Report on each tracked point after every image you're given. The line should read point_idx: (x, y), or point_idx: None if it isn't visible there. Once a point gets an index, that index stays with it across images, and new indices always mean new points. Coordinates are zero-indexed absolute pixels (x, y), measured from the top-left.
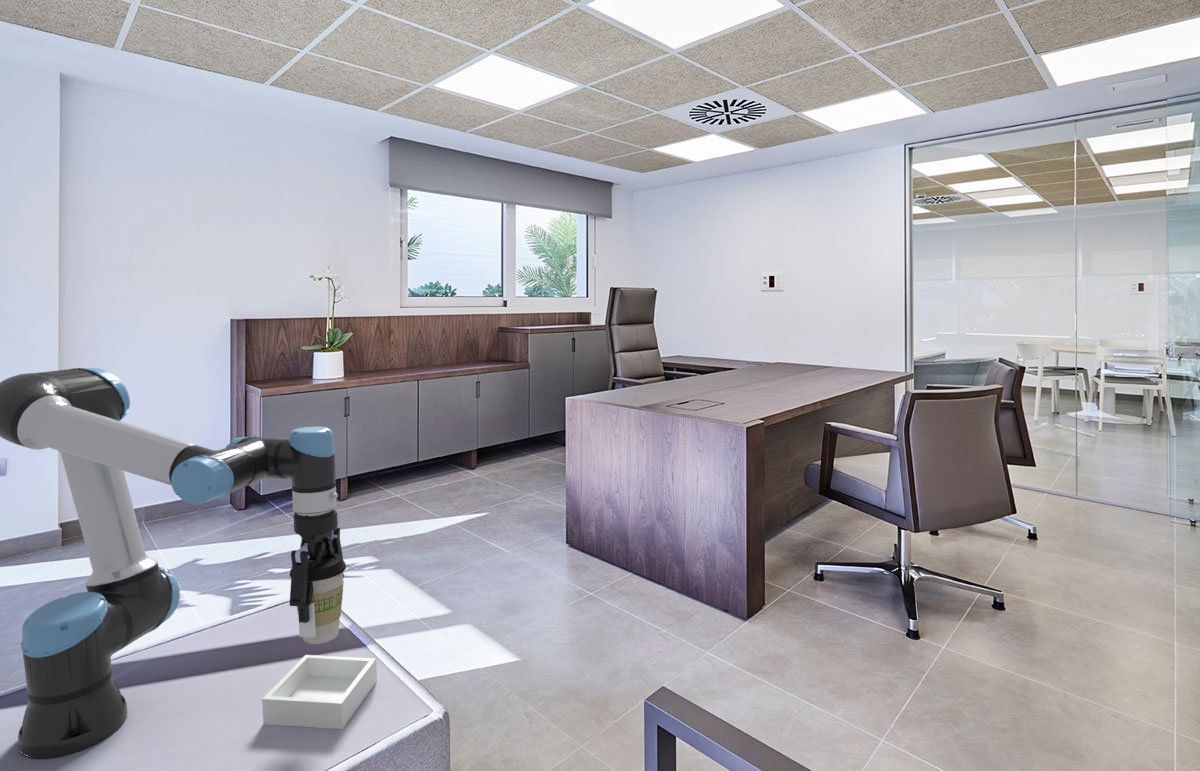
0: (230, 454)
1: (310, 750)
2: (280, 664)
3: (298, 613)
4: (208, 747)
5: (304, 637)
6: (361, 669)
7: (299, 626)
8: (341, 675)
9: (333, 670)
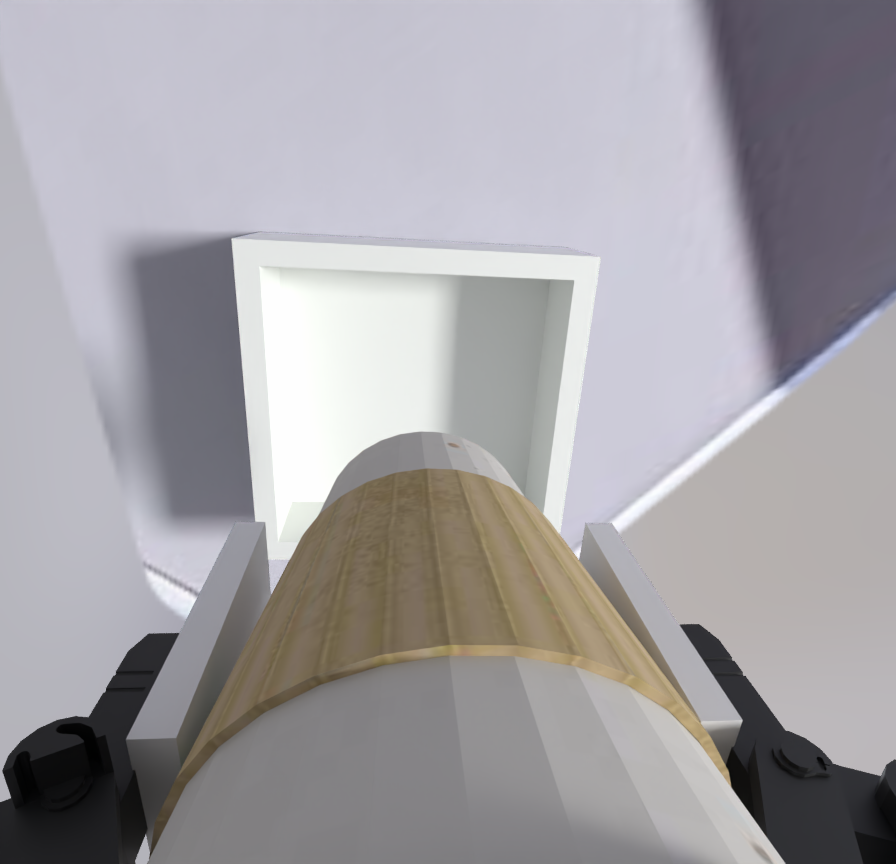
0: None
1: (165, 461)
2: (681, 66)
3: (98, 704)
4: (88, 79)
5: (339, 479)
6: (535, 494)
7: (211, 573)
8: (536, 409)
9: (544, 384)
